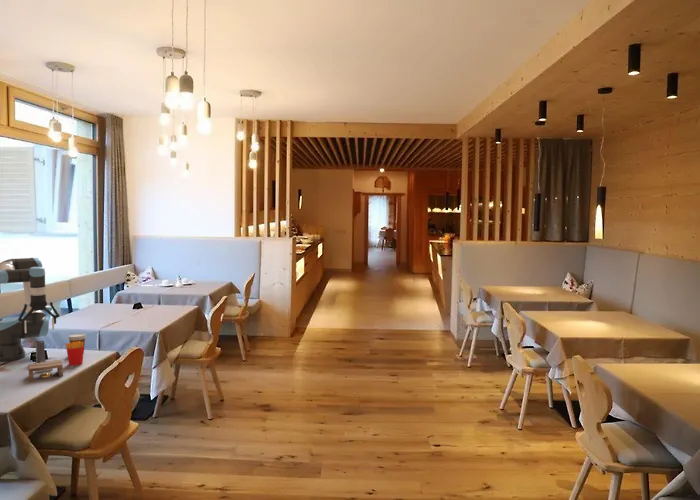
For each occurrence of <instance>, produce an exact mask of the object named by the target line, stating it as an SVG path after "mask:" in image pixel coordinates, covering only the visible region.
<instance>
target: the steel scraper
mask: <svg viewBox="0 0 700 500" xmlns="http://www.w3.org/2000/svg"><path fill="white" fill-rule="evenodd" d="M45 353H46V351H45V340H40V341H39V340H38V341H35V358H36V362H35V363H40V362H46V354H45ZM50 371H53V369H47V370H40V371H34V372H35V374H37V373H46V372H50Z"/></svg>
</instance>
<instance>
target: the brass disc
mask: <svg viewBox="0 0 700 500" xmlns="http://www.w3.org/2000/svg"><path fill="white" fill-rule="evenodd" d="M52 376H53V372H50V371H45V372H40V373H39V375H38V377H39V379H48V378H51V377H52Z"/></svg>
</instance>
